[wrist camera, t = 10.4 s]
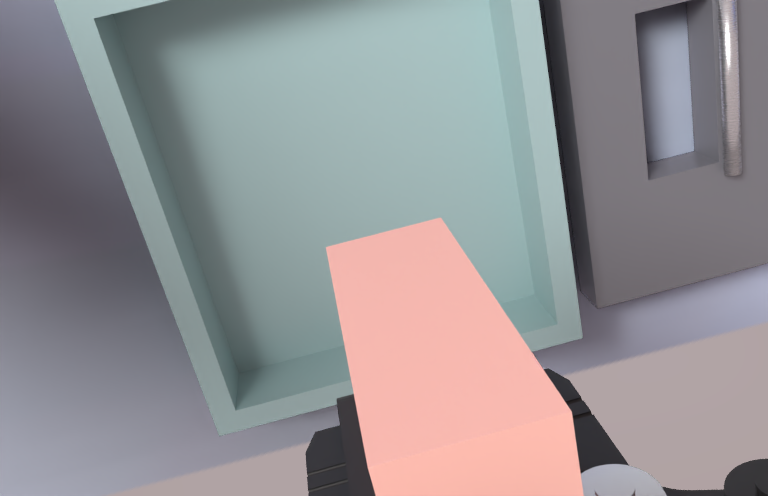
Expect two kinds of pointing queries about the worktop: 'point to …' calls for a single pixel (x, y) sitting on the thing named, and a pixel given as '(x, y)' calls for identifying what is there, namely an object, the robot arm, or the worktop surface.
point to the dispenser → (671, 175)
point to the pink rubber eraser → (445, 374)
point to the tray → (324, 168)
